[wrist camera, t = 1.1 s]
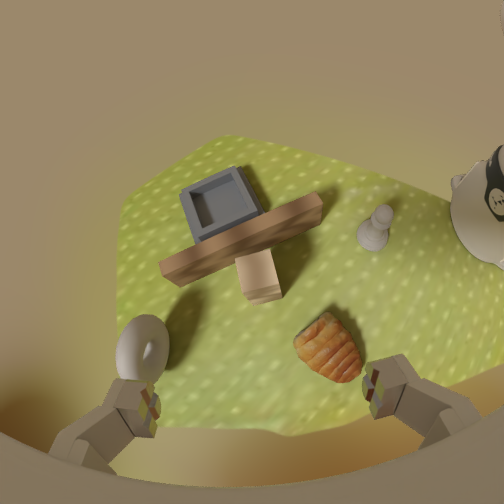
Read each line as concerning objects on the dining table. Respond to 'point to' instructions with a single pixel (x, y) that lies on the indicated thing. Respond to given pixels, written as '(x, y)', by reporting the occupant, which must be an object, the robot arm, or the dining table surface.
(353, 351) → the pastry
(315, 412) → the dining table surface
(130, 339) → the donut
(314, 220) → the door edge
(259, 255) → the block
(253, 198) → the seat block
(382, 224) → the chess piece
